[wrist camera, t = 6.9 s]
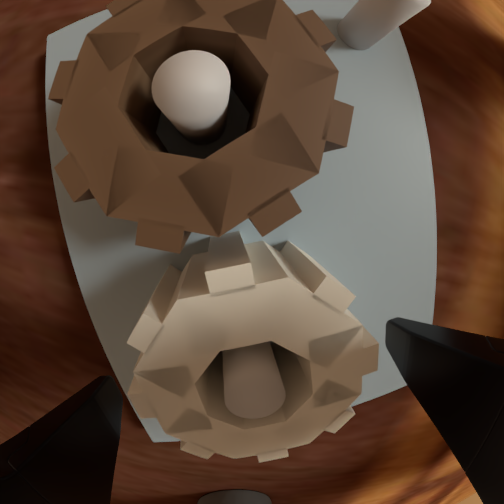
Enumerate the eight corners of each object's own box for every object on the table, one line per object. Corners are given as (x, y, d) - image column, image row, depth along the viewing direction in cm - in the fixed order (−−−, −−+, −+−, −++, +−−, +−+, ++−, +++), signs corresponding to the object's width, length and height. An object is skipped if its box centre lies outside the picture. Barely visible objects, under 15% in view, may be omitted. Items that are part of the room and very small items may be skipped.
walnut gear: (339, 156, 10) (402, 147, 6) (174, 262, 10) (149, 311, 6) (235, 9, 8) (244, -57, 4) (76, 109, 8) (14, 83, 4)
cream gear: (335, 370, 12) (370, 431, 8) (182, 402, 12) (175, 471, 8) (321, 214, 10) (377, 236, 6) (130, 253, 10) (83, 295, 6)
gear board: (413, 366, 14) (464, 422, 9) (156, 426, 13) (142, 505, 8) (372, 1, 9) (430, -51, 4) (59, 44, 8) (-4, -2, 3)
